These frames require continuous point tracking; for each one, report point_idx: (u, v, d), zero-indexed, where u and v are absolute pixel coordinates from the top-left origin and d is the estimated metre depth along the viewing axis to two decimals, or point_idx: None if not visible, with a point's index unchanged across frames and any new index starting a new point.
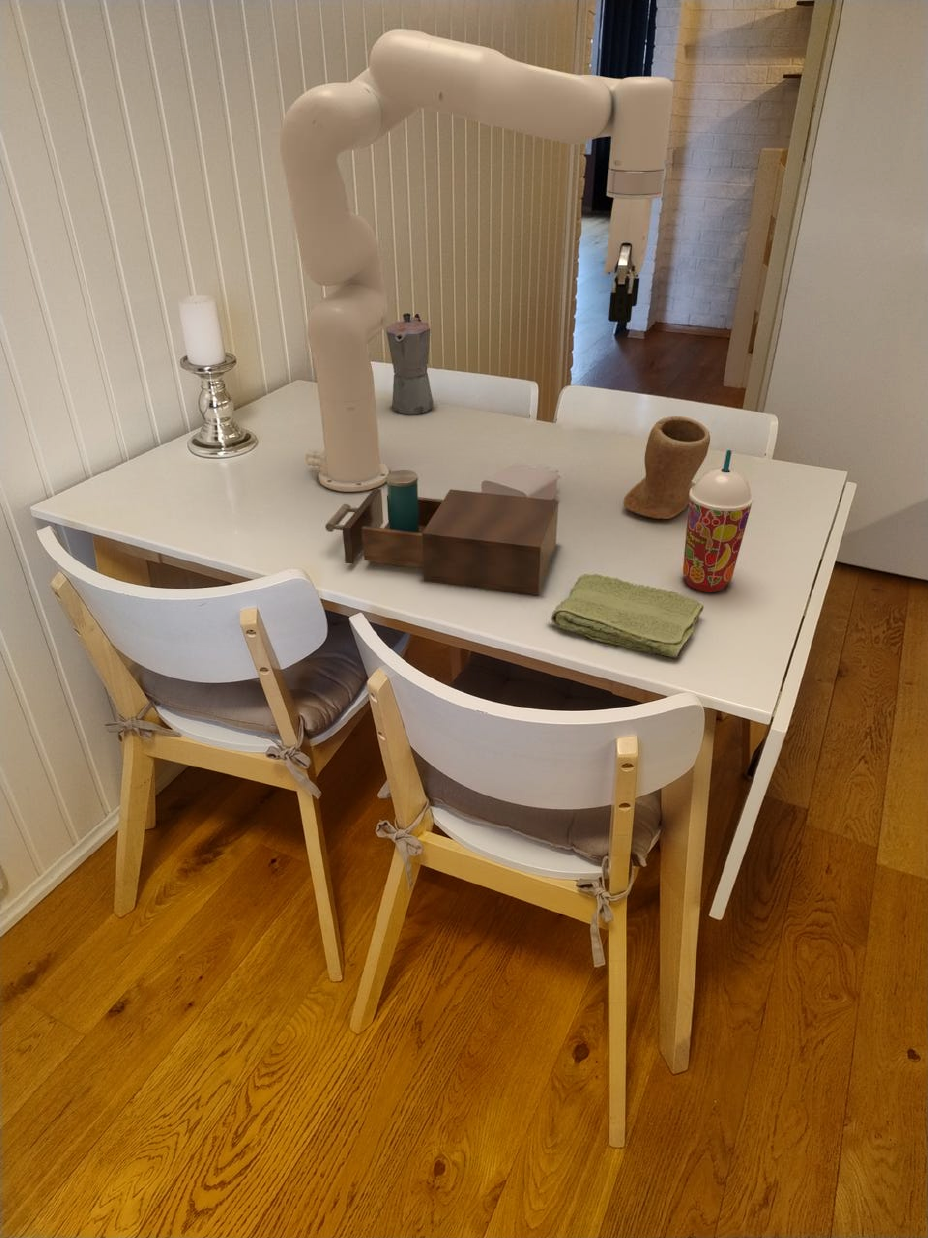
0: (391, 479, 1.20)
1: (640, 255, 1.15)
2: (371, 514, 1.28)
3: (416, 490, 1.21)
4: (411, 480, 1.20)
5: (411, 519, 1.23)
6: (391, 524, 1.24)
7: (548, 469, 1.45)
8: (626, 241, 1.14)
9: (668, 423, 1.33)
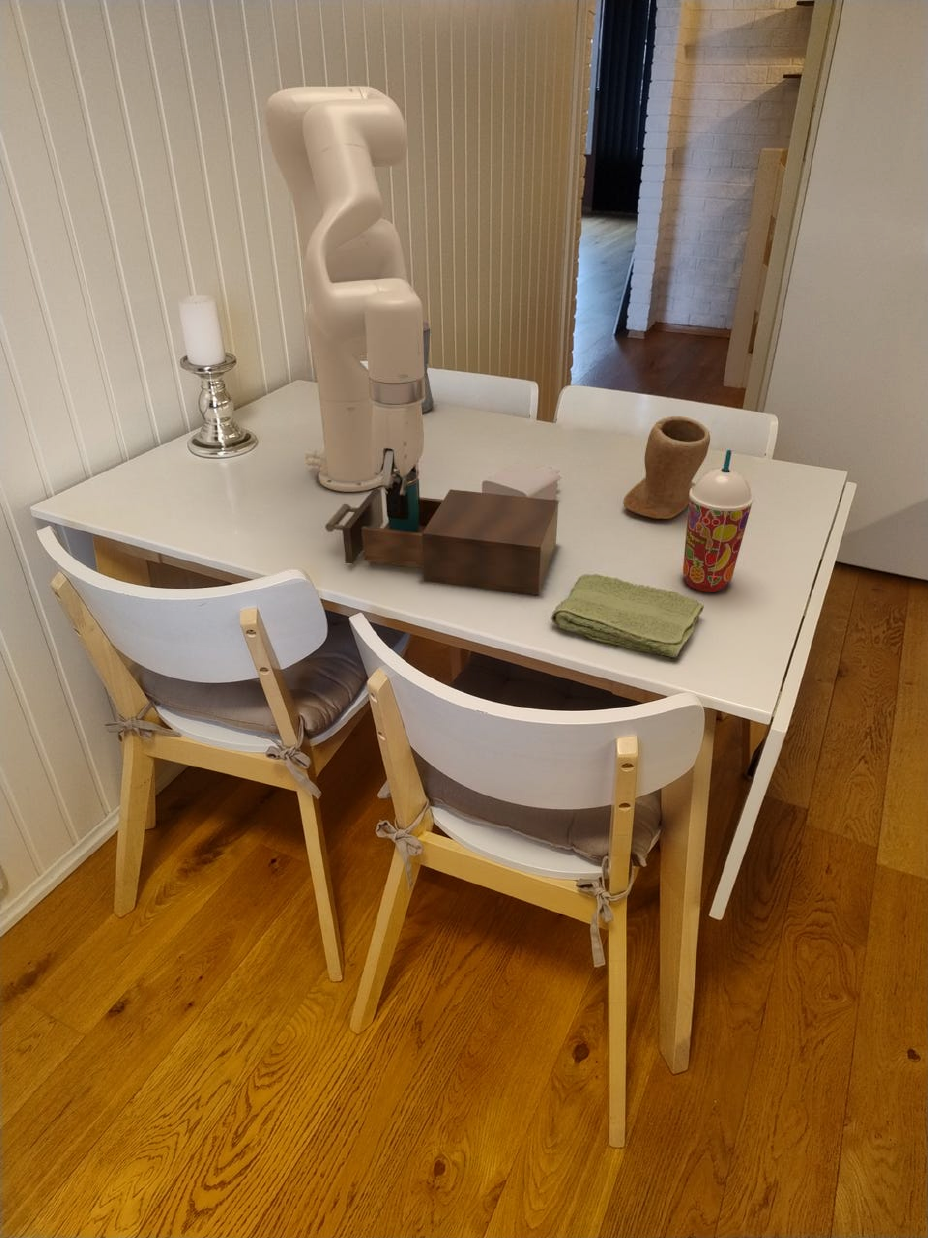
0: None
1: (403, 459, 1.14)
2: (371, 514, 1.28)
3: (416, 490, 1.21)
4: (411, 480, 1.20)
5: (411, 519, 1.23)
6: (391, 524, 1.24)
7: (549, 469, 1.45)
8: (388, 447, 1.13)
9: (668, 423, 1.33)
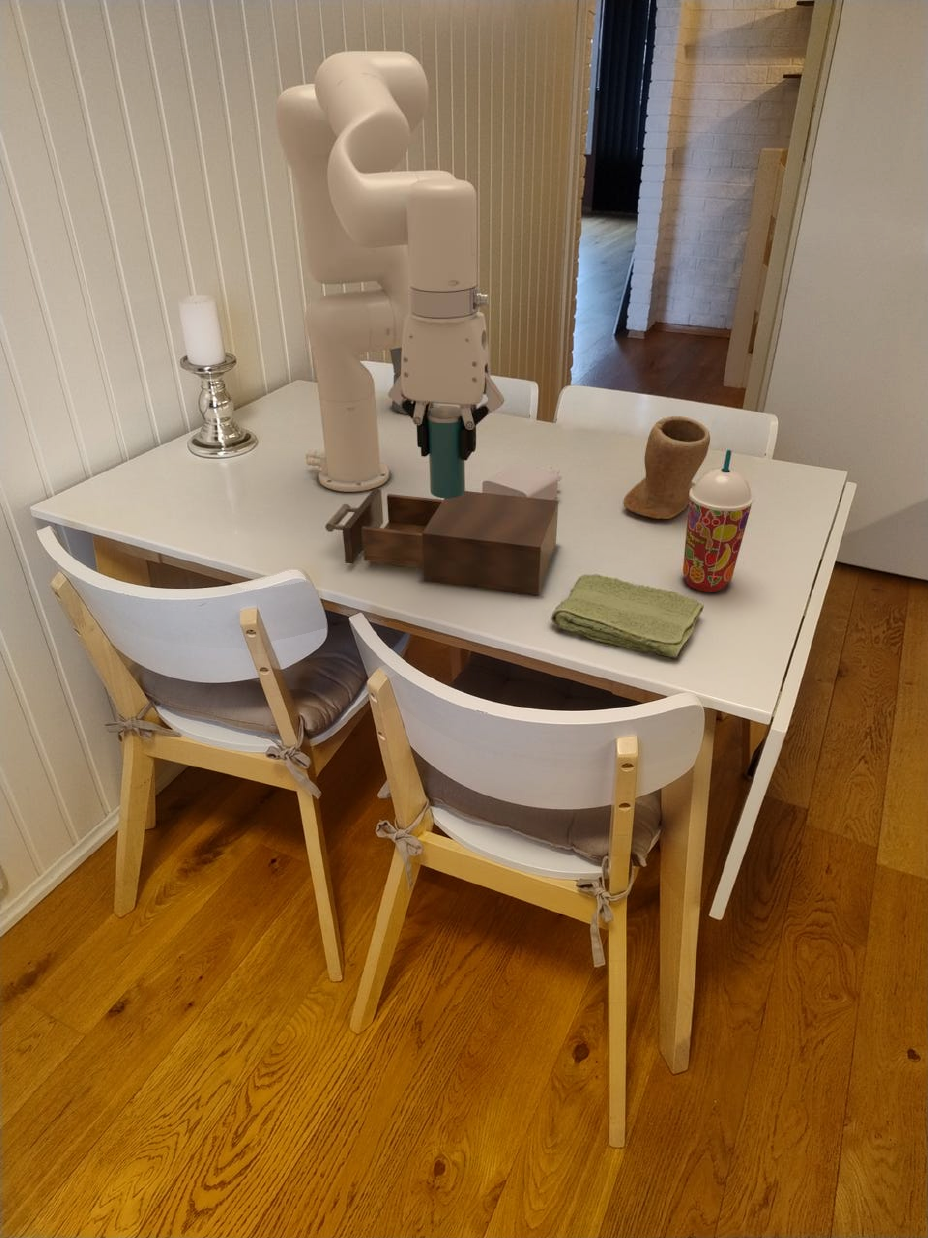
0: (435, 408, 1.03)
1: (403, 377, 0.99)
2: (371, 514, 1.28)
3: (440, 433, 1.01)
4: (433, 416, 1.01)
5: (431, 462, 1.04)
6: None
7: (549, 470, 1.45)
8: None
9: (668, 423, 1.33)
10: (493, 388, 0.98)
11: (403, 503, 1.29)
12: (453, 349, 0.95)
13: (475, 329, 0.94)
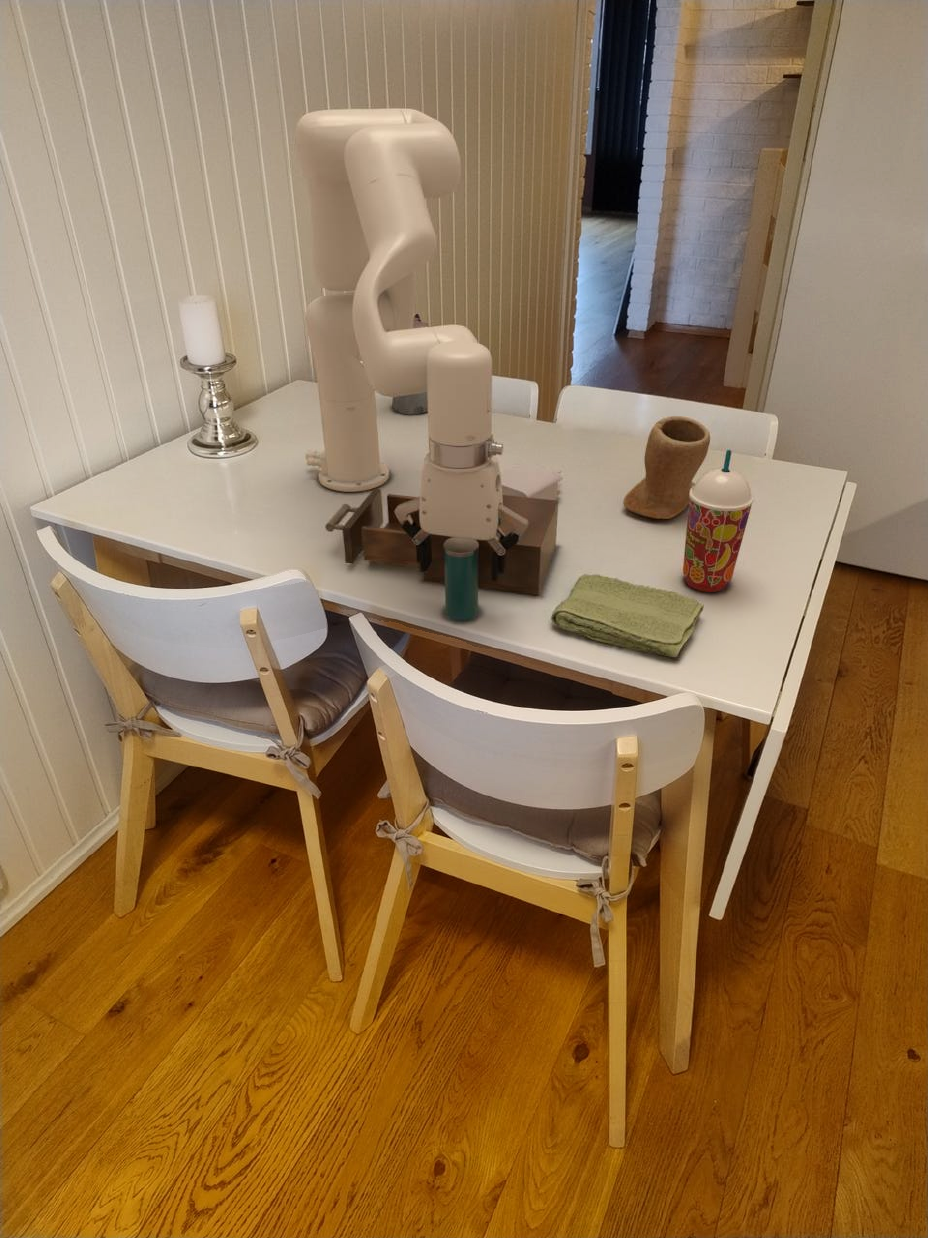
0: (451, 539, 1.09)
1: (421, 514, 1.05)
2: (371, 514, 1.28)
3: (455, 565, 1.07)
4: (449, 550, 1.07)
5: (447, 589, 1.10)
6: None
7: (550, 470, 1.45)
8: None
9: (668, 423, 1.33)
10: (513, 516, 1.03)
11: None
12: (469, 493, 1.01)
13: (490, 476, 1.00)
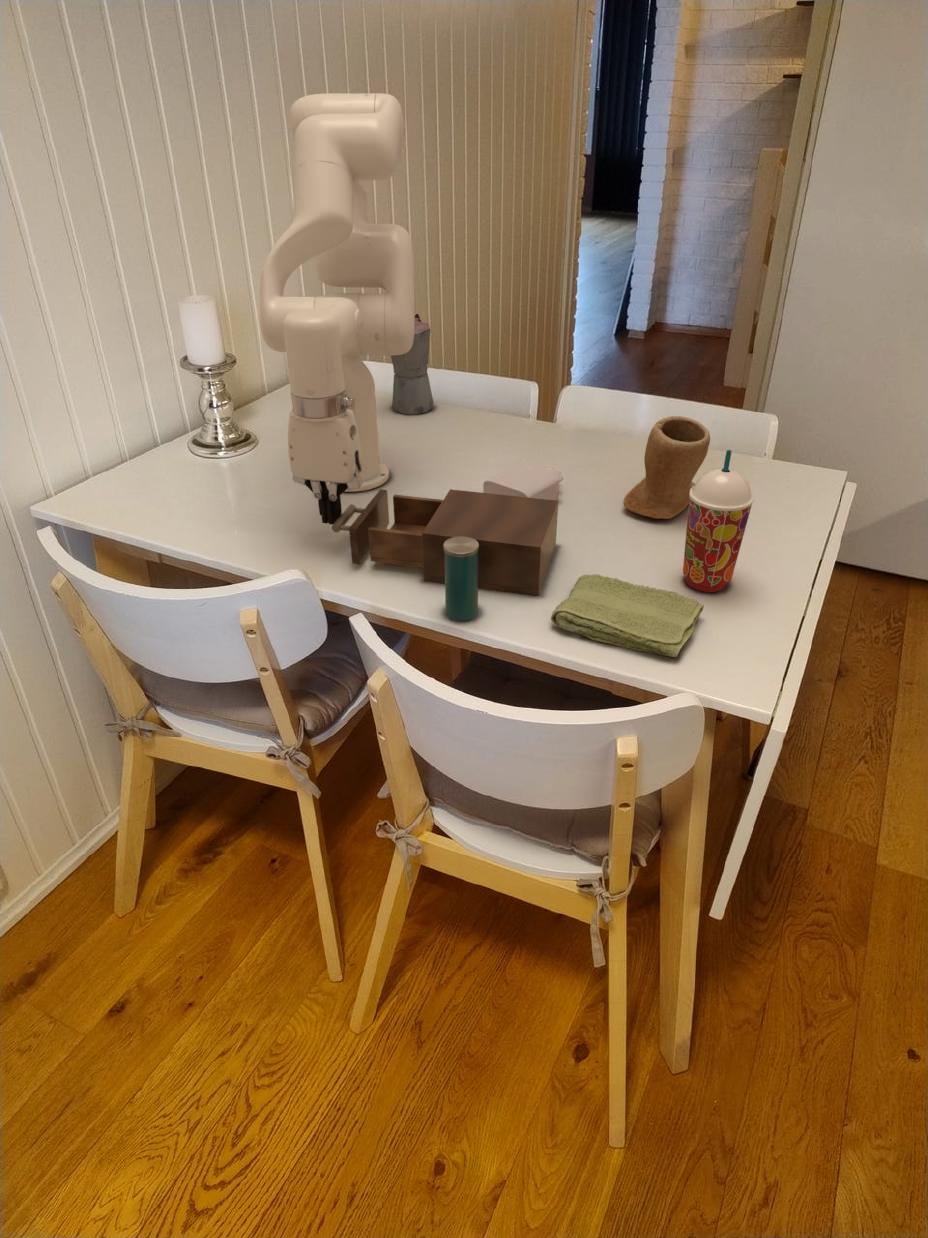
0: (451, 539, 1.09)
1: (290, 460, 1.22)
2: (377, 514, 1.28)
3: (455, 565, 1.07)
4: (449, 550, 1.07)
5: (447, 589, 1.10)
6: None
7: (551, 470, 1.44)
8: None
9: (668, 423, 1.33)
10: (356, 474, 1.22)
11: (409, 504, 1.29)
12: (327, 441, 1.18)
13: (343, 425, 1.17)
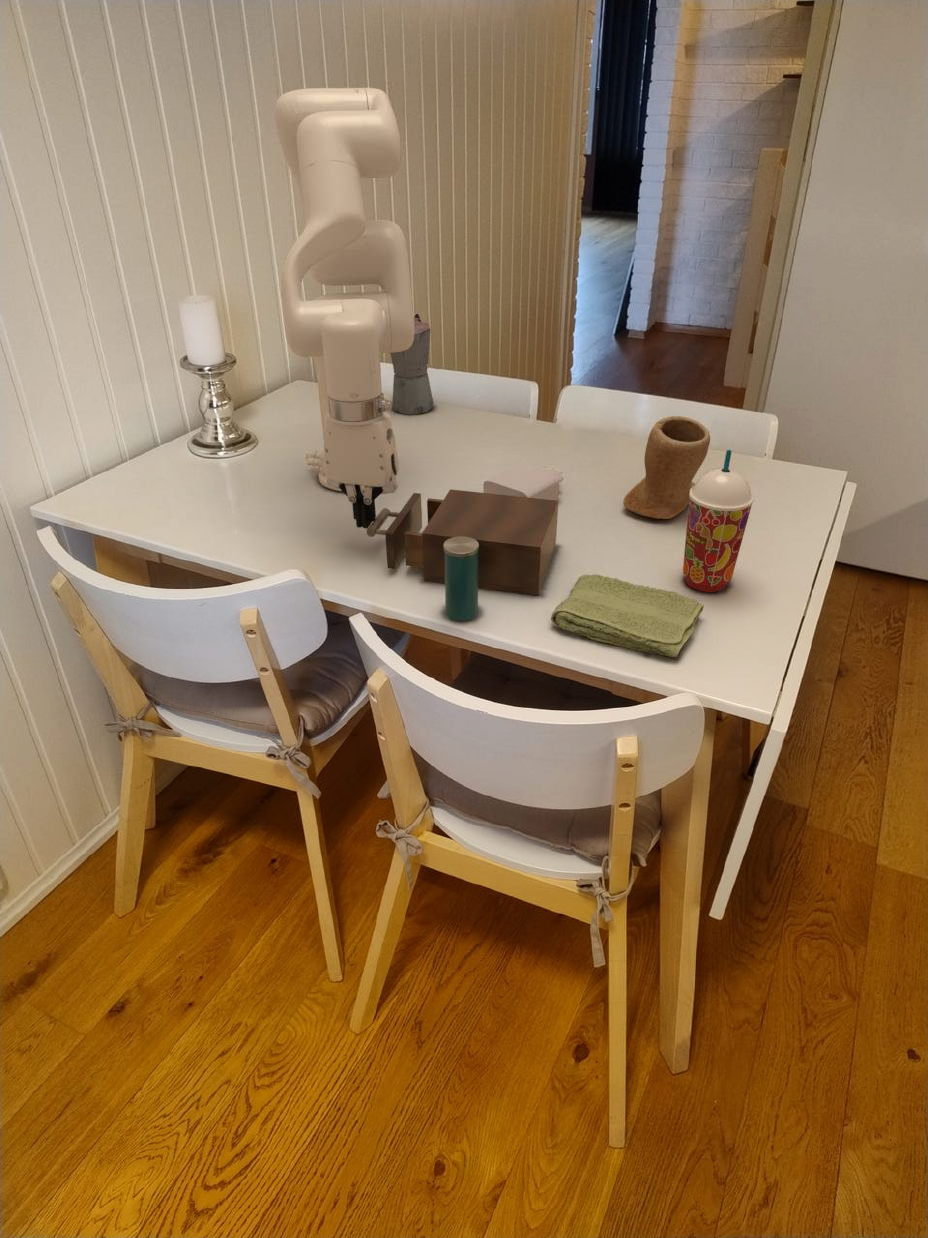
0: (451, 539, 1.09)
1: (325, 463, 1.21)
2: (412, 518, 1.27)
3: (455, 565, 1.07)
4: (449, 550, 1.07)
5: (447, 589, 1.10)
6: None
7: (551, 470, 1.44)
8: None
9: (668, 423, 1.33)
10: (392, 477, 1.21)
11: None
12: (363, 444, 1.17)
13: (380, 429, 1.16)
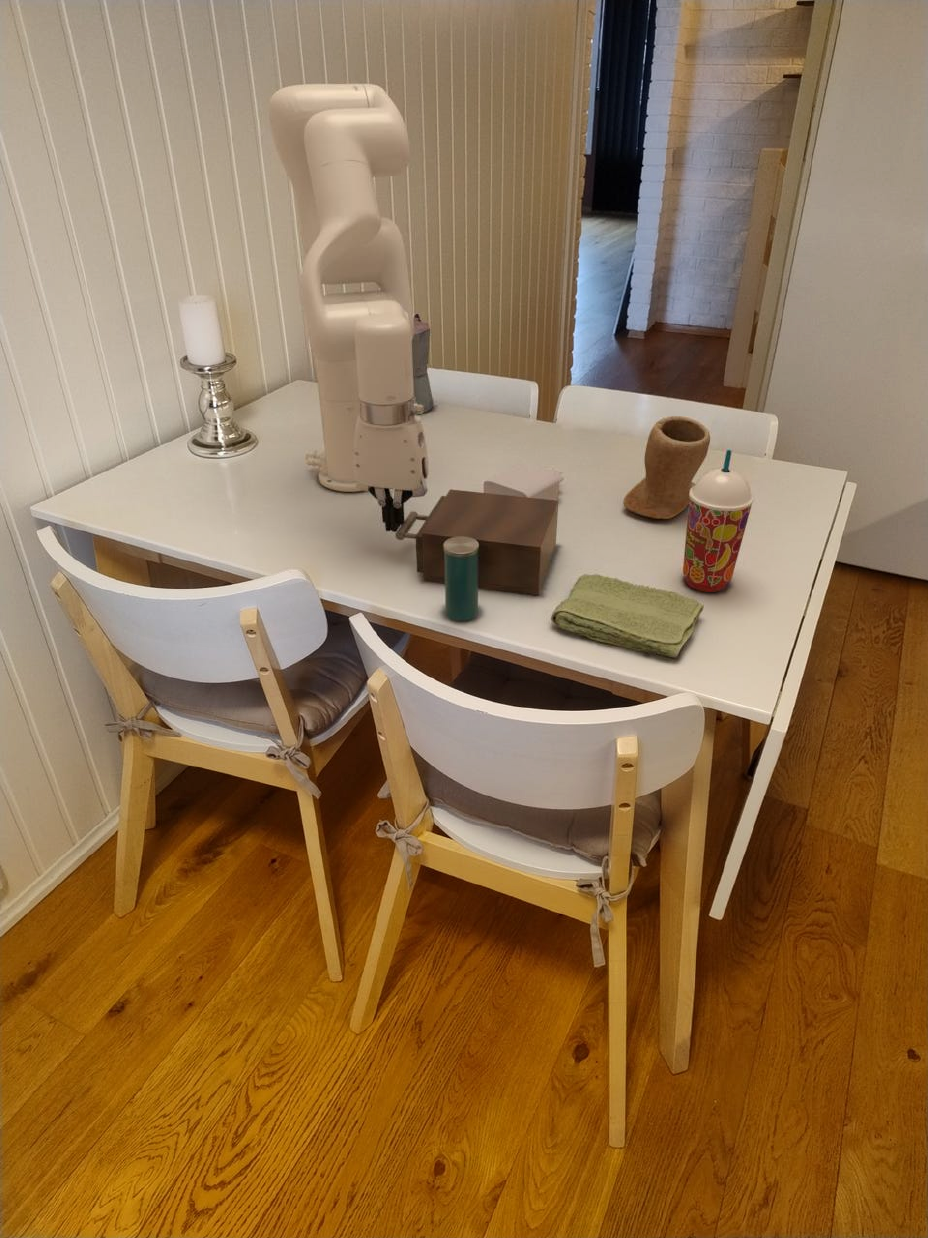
0: (451, 539, 1.09)
1: (355, 467, 1.20)
2: None
3: (455, 565, 1.07)
4: (449, 550, 1.07)
5: (447, 589, 1.10)
6: None
7: (551, 470, 1.44)
8: None
9: (668, 423, 1.33)
10: (422, 481, 1.20)
11: None
12: (394, 448, 1.16)
13: (412, 432, 1.15)
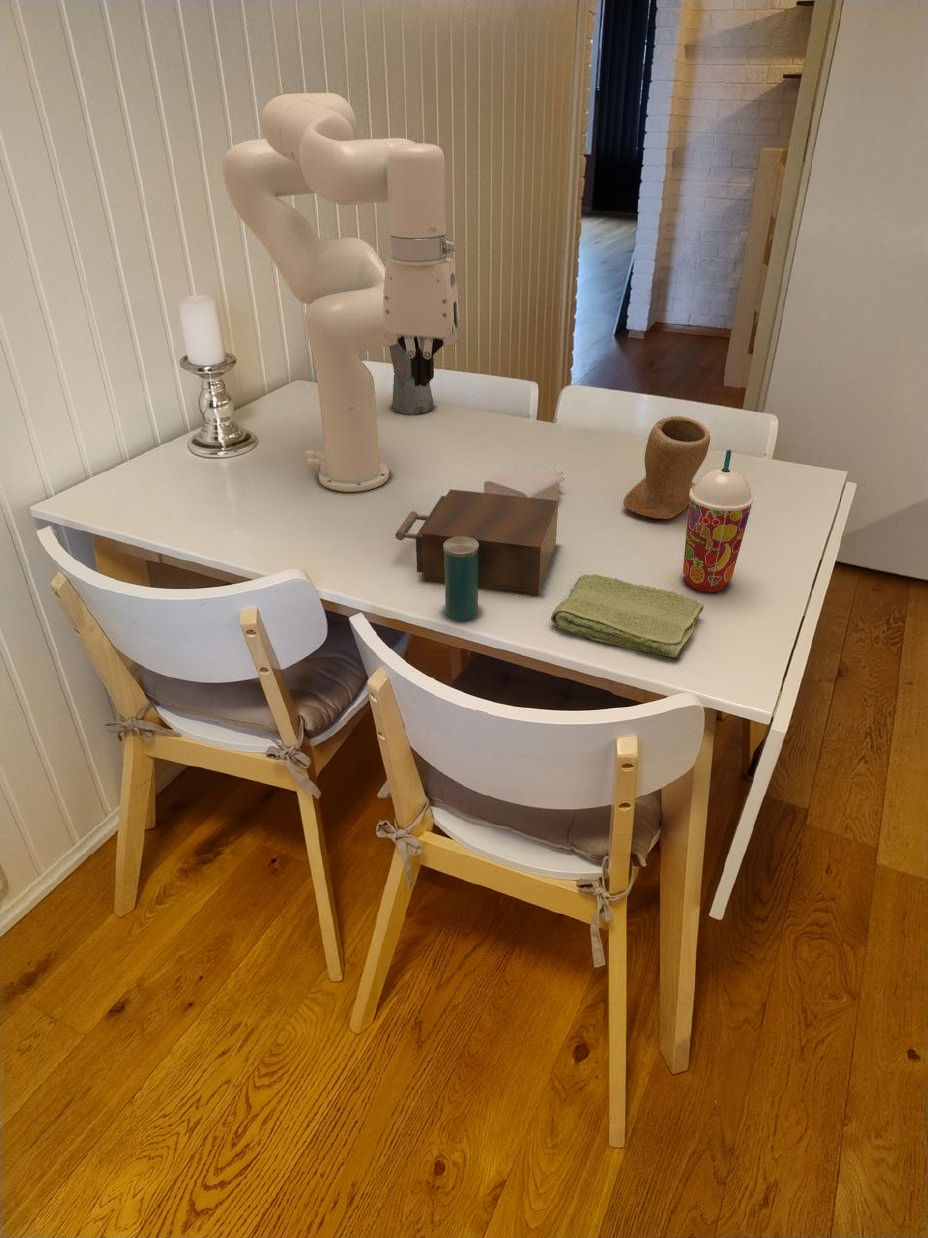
0: (451, 539, 1.09)
1: (384, 313, 1.17)
2: None
3: (455, 565, 1.07)
4: (449, 550, 1.07)
5: (447, 589, 1.10)
6: None
7: (552, 471, 1.44)
8: None
9: (668, 423, 1.33)
10: (453, 328, 1.17)
11: None
12: (426, 288, 1.13)
13: (444, 271, 1.12)
